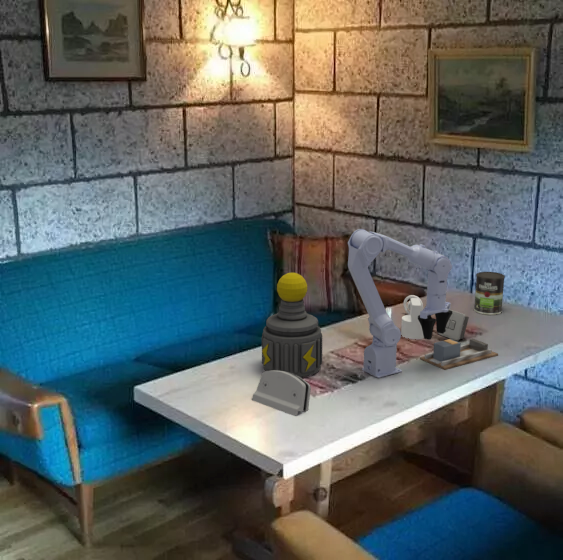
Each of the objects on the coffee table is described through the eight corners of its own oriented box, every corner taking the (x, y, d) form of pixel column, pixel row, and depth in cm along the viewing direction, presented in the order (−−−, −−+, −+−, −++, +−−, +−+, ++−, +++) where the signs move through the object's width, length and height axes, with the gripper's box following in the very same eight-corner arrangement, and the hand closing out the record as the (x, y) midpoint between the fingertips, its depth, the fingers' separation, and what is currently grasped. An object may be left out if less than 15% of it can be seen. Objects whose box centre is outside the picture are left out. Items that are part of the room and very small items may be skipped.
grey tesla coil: (283, 384, 227) (283, 284, 219) (249, 364, 242) (248, 270, 234) (335, 371, 237) (336, 275, 229) (299, 353, 252) (300, 262, 244)
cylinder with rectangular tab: (400, 330, 274) (401, 297, 270) (426, 331, 273) (428, 298, 270) (401, 339, 265) (403, 305, 262) (428, 339, 264) (430, 305, 261)
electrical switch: (437, 334, 269) (440, 308, 268) (447, 333, 272) (450, 307, 271) (457, 342, 262) (460, 315, 260) (467, 340, 265) (471, 313, 263)
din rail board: (444, 369, 238) (445, 358, 237) (420, 359, 246) (420, 348, 246) (498, 355, 249) (498, 344, 248) (472, 345, 258) (473, 335, 257)
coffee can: (499, 316, 289) (502, 279, 285) (471, 313, 293) (474, 276, 289) (503, 308, 298) (506, 273, 294) (476, 305, 302) (478, 270, 298)
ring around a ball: (400, 315, 291) (401, 294, 289) (408, 311, 295) (409, 291, 293) (420, 319, 286) (421, 298, 284) (427, 315, 290) (428, 294, 288)
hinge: (250, 399, 217) (258, 364, 217) (261, 400, 220) (269, 365, 220) (296, 416, 206) (305, 379, 206) (307, 416, 209) (315, 380, 209)
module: (443, 362, 241) (444, 346, 240) (433, 358, 245) (433, 342, 244) (459, 358, 245) (460, 342, 244) (449, 353, 249) (450, 338, 247)
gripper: (435, 300, 228) (433, 344, 232) (460, 290, 239) (457, 333, 242) (414, 296, 233) (412, 339, 236) (440, 286, 244) (437, 328, 247)
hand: (434, 335), depth 240 cm, fingers open, 7 cm apart
